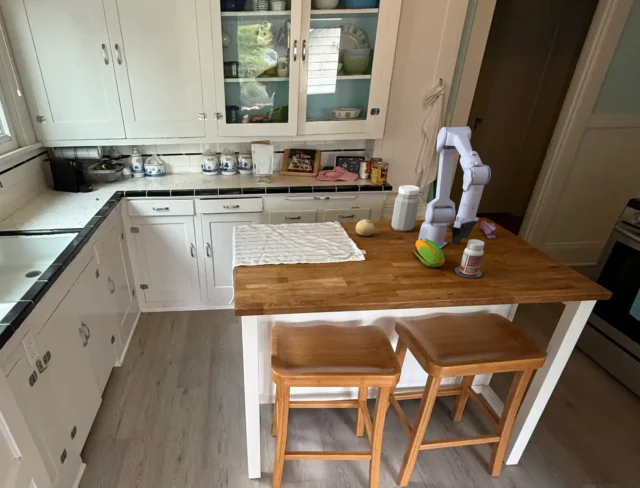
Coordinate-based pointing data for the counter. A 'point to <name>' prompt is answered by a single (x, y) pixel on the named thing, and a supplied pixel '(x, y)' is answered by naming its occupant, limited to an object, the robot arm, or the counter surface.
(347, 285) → the counter surface
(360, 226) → the onion
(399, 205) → the jar
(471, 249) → the pill bottle
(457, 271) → the coaster
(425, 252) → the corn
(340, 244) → the counter surface
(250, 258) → the counter surface
